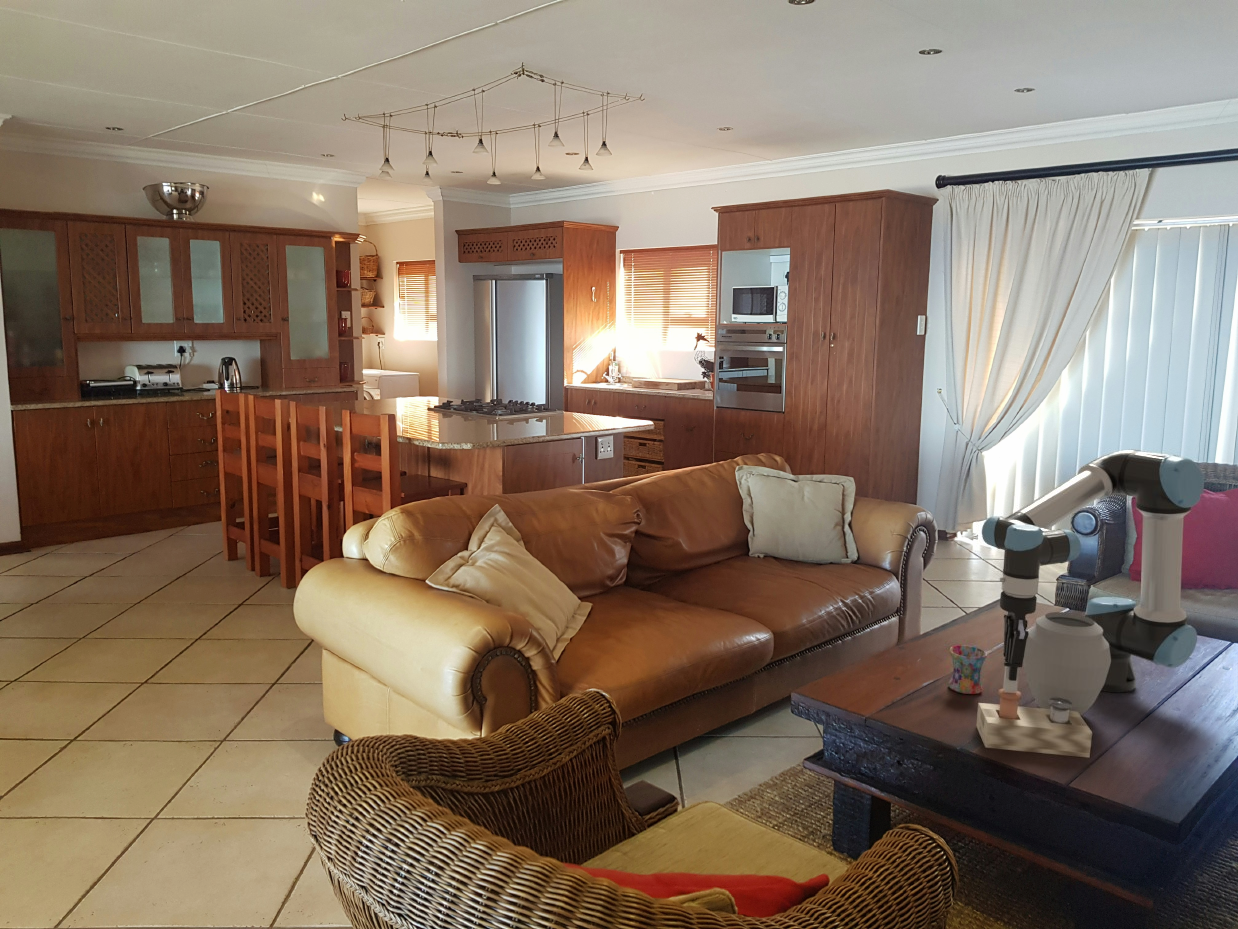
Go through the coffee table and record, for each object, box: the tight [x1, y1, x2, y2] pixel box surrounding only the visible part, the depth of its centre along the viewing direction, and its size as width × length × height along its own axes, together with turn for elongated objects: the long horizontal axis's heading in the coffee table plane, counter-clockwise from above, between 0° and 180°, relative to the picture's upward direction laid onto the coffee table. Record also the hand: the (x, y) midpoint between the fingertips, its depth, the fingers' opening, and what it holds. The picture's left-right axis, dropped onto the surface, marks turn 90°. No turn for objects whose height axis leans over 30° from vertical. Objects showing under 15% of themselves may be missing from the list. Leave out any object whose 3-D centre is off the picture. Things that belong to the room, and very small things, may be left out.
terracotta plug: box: [998, 687, 1022, 720], centre depth 211 cm, size 5×5×9 cm
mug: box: [947, 644, 988, 695], centre depth 240 cm, size 12×9×11 cm
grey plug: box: [1049, 697, 1072, 724], centre depth 210 cm, size 5×5×9 cm
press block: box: [976, 702, 1093, 758], centre depth 211 cm, size 22×11×6 cm, turn 79°
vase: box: [1023, 611, 1111, 717], centre depth 225 cm, size 20×20×24 cm
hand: (1009, 691), depth 211 cm, fingers closed
